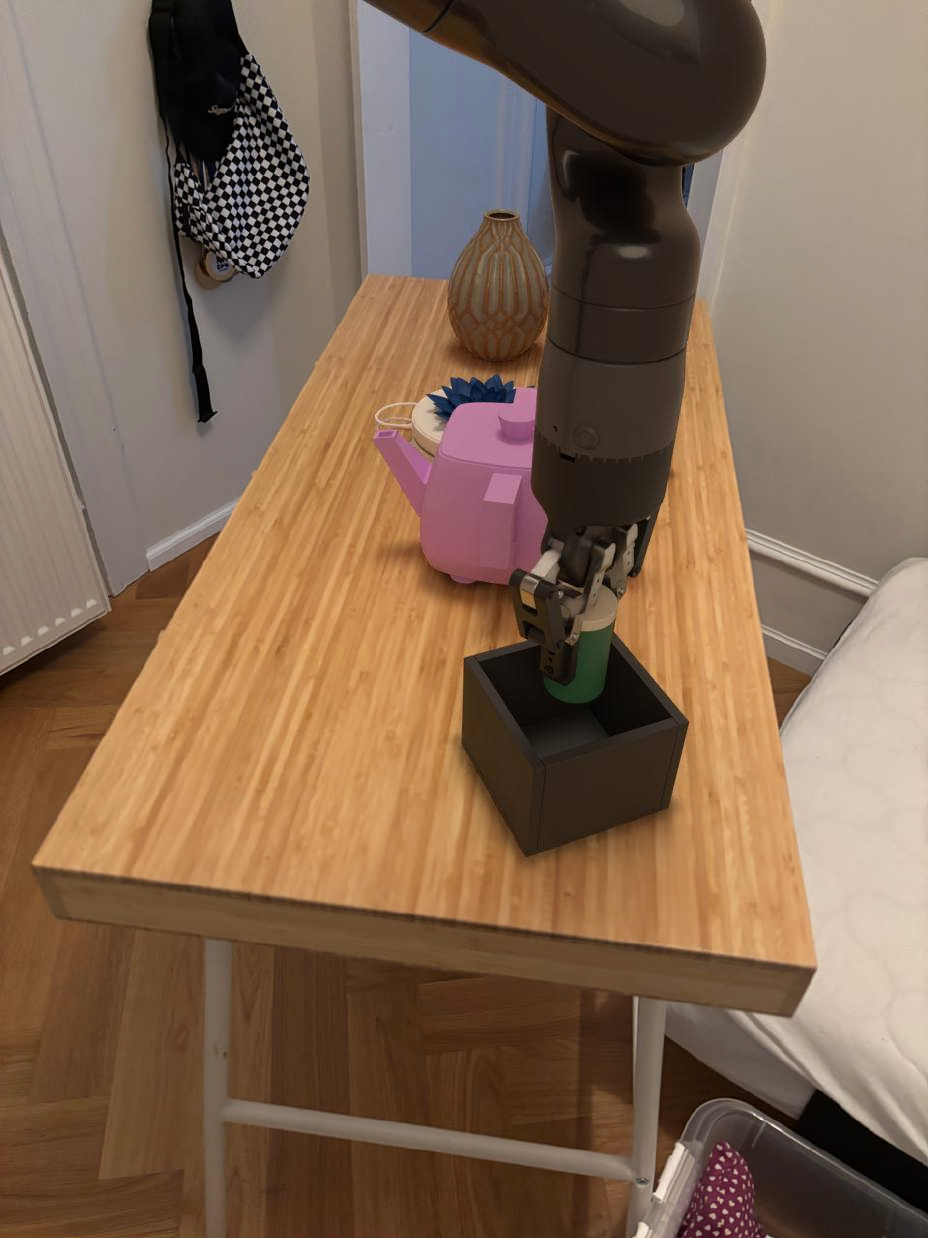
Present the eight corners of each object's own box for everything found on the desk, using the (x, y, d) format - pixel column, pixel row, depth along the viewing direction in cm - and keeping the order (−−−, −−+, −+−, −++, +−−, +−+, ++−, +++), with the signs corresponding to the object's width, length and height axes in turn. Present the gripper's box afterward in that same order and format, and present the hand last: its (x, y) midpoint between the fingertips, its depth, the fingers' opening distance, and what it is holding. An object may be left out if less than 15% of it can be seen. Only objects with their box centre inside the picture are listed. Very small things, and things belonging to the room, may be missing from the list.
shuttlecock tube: (559, 712, 60) (569, 628, 55) (531, 670, 63) (537, 588, 58) (617, 694, 61) (630, 611, 57) (586, 654, 64) (596, 572, 59)
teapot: (372, 542, 90) (364, 397, 80) (516, 483, 99) (524, 346, 89) (501, 648, 78) (510, 493, 69) (650, 570, 87) (677, 423, 77)
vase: (563, 348, 126) (576, 211, 115) (509, 381, 117) (517, 238, 106) (483, 324, 131) (487, 192, 120) (426, 355, 123) (425, 216, 112)
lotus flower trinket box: (566, 369, 104) (394, 349, 108) (545, 434, 93) (352, 410, 96) (561, 424, 109) (395, 404, 112) (540, 493, 97) (356, 469, 100)
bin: (525, 858, 62) (534, 771, 56) (461, 743, 70) (463, 657, 64) (668, 808, 65) (689, 721, 60) (591, 704, 73) (604, 619, 68)
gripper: (612, 355, 56) (584, 584, 67) (468, 447, 47) (463, 694, 58) (729, 391, 52) (679, 626, 63) (597, 497, 43) (566, 750, 54)
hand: (576, 657), depth 60 cm, fingers closed on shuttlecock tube, 4 cm apart
